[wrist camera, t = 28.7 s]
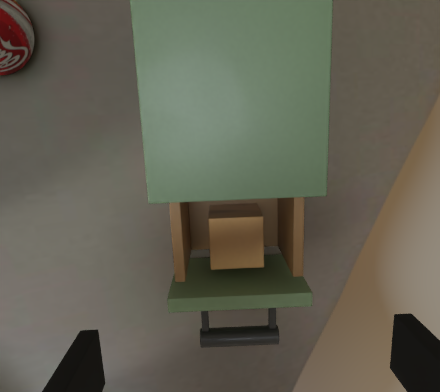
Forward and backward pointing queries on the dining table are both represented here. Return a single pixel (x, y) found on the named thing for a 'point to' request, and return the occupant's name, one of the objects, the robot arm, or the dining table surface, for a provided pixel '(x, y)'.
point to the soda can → (14, 37)
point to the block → (236, 236)
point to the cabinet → (233, 97)
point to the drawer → (239, 271)
